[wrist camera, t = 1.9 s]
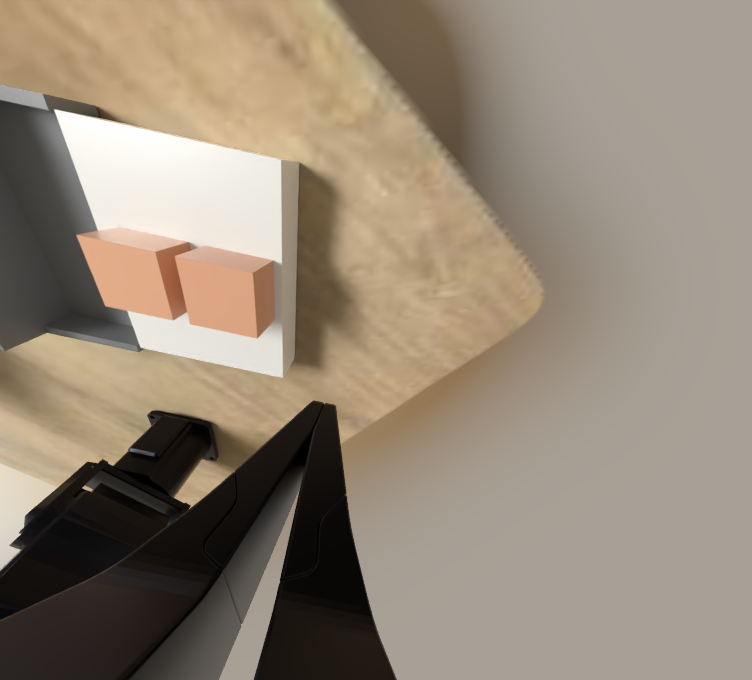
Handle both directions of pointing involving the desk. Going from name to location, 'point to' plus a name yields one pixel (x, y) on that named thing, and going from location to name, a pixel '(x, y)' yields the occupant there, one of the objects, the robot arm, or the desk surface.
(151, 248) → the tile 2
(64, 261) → the tray
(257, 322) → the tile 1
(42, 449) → the desk surface
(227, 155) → the board
